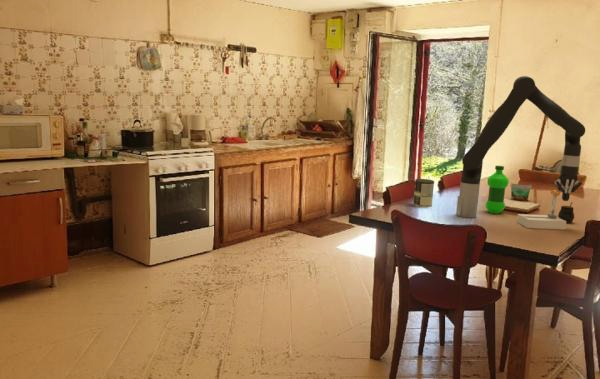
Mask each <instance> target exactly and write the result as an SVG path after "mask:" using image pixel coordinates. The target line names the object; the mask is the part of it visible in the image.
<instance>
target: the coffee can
mask: <svg viewBox="0 0 600 379" xmlns="http://www.w3.org/2000/svg"><path fill="white" fill-rule="evenodd" d="M434 186H435V180H432V179H428V178H416V179H414V193H413V203H412V204H413V206H415V207H419V208H430V207H431V208H433V196H434Z"/></svg>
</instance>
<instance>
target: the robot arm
mask: <svg viewBox="0 0 600 379" xmlns="http://www.w3.org/2000/svg"><path fill="white" fill-rule="evenodd" d="M512 86H513V87H512V89H511V91H510V92H509V94H508V96H507V98H506V99H505V100H504V101H503V103H501V104H500V106H499V107H498V108H497V109H496V110H495V111H494V112H493V114H492V115H491V116H490V118H489V119H488V120H487V122H486V123H485V125H484V126H483V128H482V130H481V132H480V134H479V136H478V137H477V139H476V141H475V143H474V144H473V145H472V146H471V147H470V148H469V149H468V151H466V153H465V154H464V155H463V157H462V173H461V178H460V188H459V195H458V196H457V202H456V213H455V215H457V216H458V217H461V218H469V219H472V218H477V213H478V204H479V197H480V196H479V194H480V185H481V179H482V172H483V164H484V158H485V157H486V155H487V153H488V152H489V150H490V149H491V148H492V147H493V146H494V145H495V143H497V141H498V140H499V139H500V138H502V137H501V136H503V134H504V133H505V132H506V130H507V129H508V127H509V125H510V124H511V123H512V121H513V120H514V118H515V116H516V115H517V113H518V111H519V109H520V108H521V106H522V105H523V104H524V102H525V101H527V100H528V101H529V102H531V103H532V105H534V106H535V107H537V109H539V111H541V112H542V114H544V116H546V117H547V118H548V119H549V120H551V122H553V123H554V124H555V125H556V126H558V127H560V128H561V129H562V130H564V149H563V153H562V154H563V156H562V158H561V165H560V172H559V177H558V179H556V180H553V183H554V185H555V187H556V188H557V191H559V192H560V193H562V194H561V196H562V197H561V199H562V201H564V202H568V201H569V200H570V197H571V193H575V192H576V190H578V189H579V188H580V186H582V183H583V182H582V181H581V182H580V181H579V178H578V175H579V170H580V165H581V164H580V163H581V153H582V145H581V138H582V137H583V136H584V135H585V133H586V127H585V126H584V124H583V123H582V122H580V121H579V120H578V119H576V118H575V117H573V116H571V115H570V113H569V112H567V111H566V110H565V109H564V108H563V107H561V106H560V104H558V103H556V102H555V101H554V100H552V99H551V98H550V97H548V96H547V95H546V94H544V93H543V92H542V91H541V90H540V89H539V88H538V86H537V85H536V82H535V80H534V78H532V77H530V76H527V75H523V76H519V77H517V78H516V79H515V80H514V81H513V85H512Z"/></svg>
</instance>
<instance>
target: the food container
mask: <svg viewBox="0 0 600 379" xmlns="http://www.w3.org/2000/svg"><path fill="white" fill-rule="evenodd" d="M532 186H533V185H532V184H517V183H513V182H511V183H510V188H511V189H510V192H511V193H510V197H511V198H510V199H511V200H512V201H518V202H528V201H529V196H530V191H531V189H532V188H533V187H532Z"/></svg>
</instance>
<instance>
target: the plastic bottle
mask: <svg viewBox="0 0 600 379" xmlns="http://www.w3.org/2000/svg"><path fill="white" fill-rule="evenodd" d="M494 169H495V172H494V173H493V174H491V175H490V176H489V177H488V178H487V186H488V187H489V188H488V196H487V201H486V202H485V208H486V210H487V211H488V212H489V213H491V214H496V215H497V214H500V213H502V211H504V209H505V208H506V203H505V195H506V194H505V193H506V192H505V191H506V188H507V187H508V186H509V182H510V181H509V180H510V179H509V178H508V177H507V176H506V175H505V174H504V172H503V171H504V170H505V166H504V165H495V167H494Z"/></svg>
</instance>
